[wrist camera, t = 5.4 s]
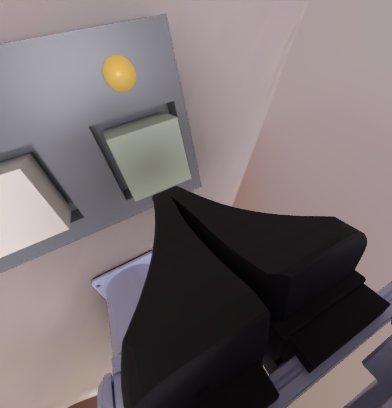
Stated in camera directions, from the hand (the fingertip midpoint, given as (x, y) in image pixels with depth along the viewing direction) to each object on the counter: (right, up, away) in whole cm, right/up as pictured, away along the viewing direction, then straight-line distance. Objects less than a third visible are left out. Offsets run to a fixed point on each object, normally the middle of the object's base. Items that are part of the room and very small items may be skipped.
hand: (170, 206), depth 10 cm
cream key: (-12, +1, +5) cm, 13 cm away
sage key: (-3, +5, +7) cm, 9 cm away
